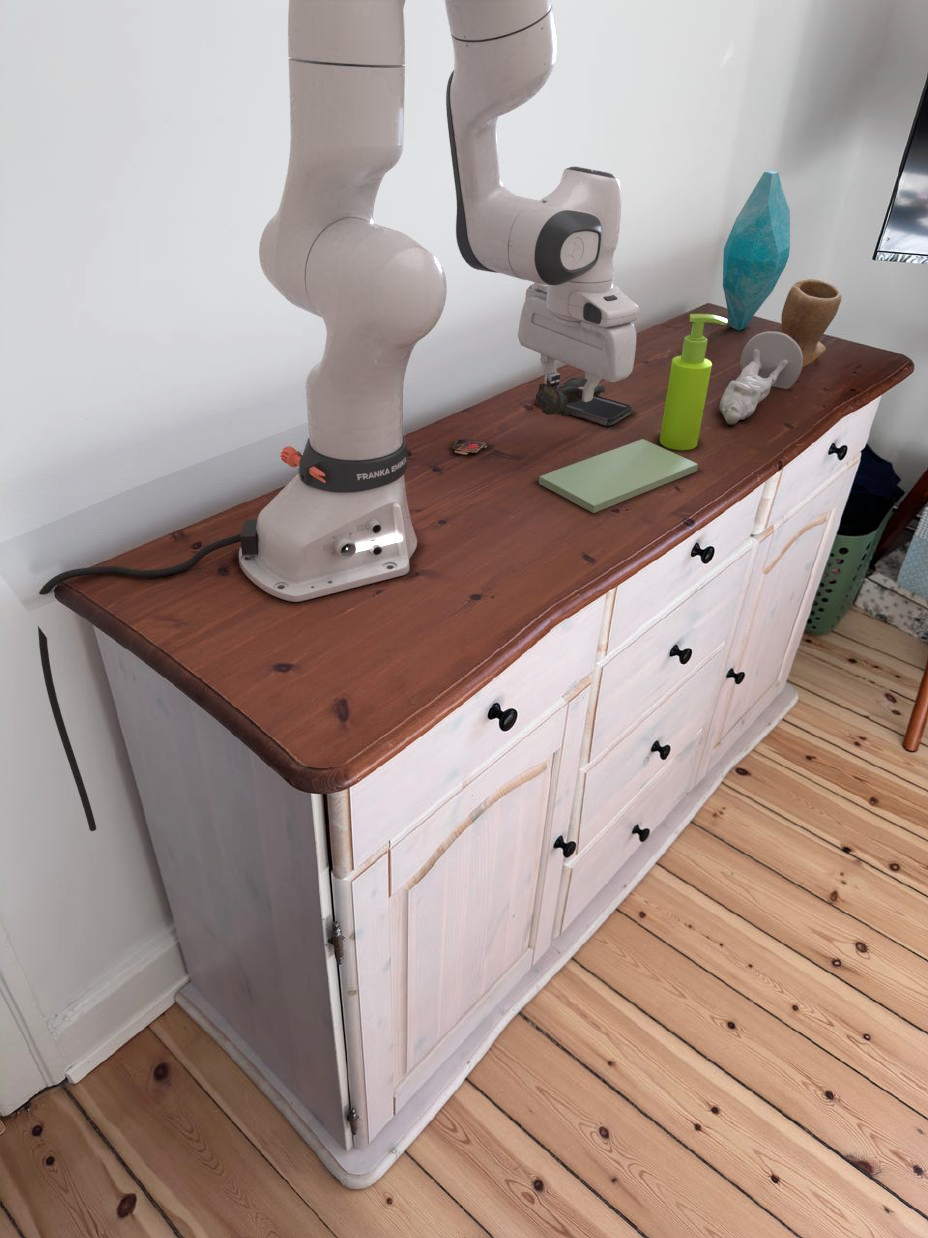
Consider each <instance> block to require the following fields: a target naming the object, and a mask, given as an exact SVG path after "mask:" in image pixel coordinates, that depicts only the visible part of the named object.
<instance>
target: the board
mask: <svg viewBox="0 0 928 1238" xmlns="http://www.w3.org/2000/svg"><path fill="white" fill-rule="evenodd" d="M698 467H699V464H698V463H697V462H694V461H692V460H691V459H688V458H686V457H683V456H681V455H679V454H678V453H675V452H672V451H670V450H668V449H667V448H664V447H662V446H659V445H657V444H656V443H652V442H650V441H649V440H647V439H644V438H641V439H639V440H636V441H633V442H630V443H627V444H625V445H621V446H619V447H616V448H614V449H611V450H608V451H605V452H602V453H600V454H597V455H594V456H591V457H588V458H585V459H584V460H580V461H578V462H575V463H573V464H569V465H567V466H564V467H561V468H559V469H556V470H553V471H550V472H547V473H544V474H542V475H539V476H538V478H539V479H538V484H539V485H540V486H543V487H544V488H546V489H548V490H550V491H552V492H554V493H555V494H557V495H559V496H561V497H563V498H564V499H566V500H568V501H570V502H572V503H574V504H576V505H578V507H581V508H583V509H585V510H586V511H589V512H590V513H592V514H595V513H598V512H600V511H603V510H605V509H607V508H611V507H612V506H615V505H617V504H620V503H622V502H625V501H627V500H630V499H632V498H635V497H637V496H639V495H642V494H645V493H646V492H649V491H652V490H654V489H656V488H659V487H662V486H664V485H667V484H669V483H671V482H674V481H677V480H678V479H679V480H680V479H681V478H684V477H686V476H688V475H691V474H694V473H696V472H698Z"/></svg>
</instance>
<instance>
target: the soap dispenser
mask: <svg viewBox="0 0 928 1238" xmlns="http://www.w3.org/2000/svg"><path fill="white" fill-rule="evenodd" d="M689 323H692V324H691V325H692V326H691V330H690V333H689V334H688V335H686V336H684V339H683V344H682V345H683V346H682V350H681V355H677V356H674V357H673V358H672V359H671V366H670V372H669V378H668V384H667V390H666V396H665V403H664V409H663V416H662V421H661V427H660V428H661V429H660V434H659V443H660V444H661V445H662V446H663V447H665V448H666V449H670V450H674V451H690V450H694V449H696V447H697V446H698V442H699V438H700V437H699V436H700V431H701V425H702V420H703V415H704V409H705V405H706V399H707V395H708V394H707V393H708V388H709V382H710V378H711V372H712V366H713V363H712V361H711V360H710V359H708V358H705V357H706V351H707V346H708V338H707V337H705V335H703V334H704V330H705V323H713V324H717V325H721V326H726V325H728V319H727V318H726V317H723V316H720V315H716V314H709V313H690V314H689Z"/></svg>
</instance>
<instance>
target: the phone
mask: <svg viewBox="0 0 928 1238" xmlns="http://www.w3.org/2000/svg"><path fill="white" fill-rule="evenodd" d="M562 387H563V385H558V386H554V387H553V388H555V389H560V388H562ZM536 400H537V399H536V398H535V401H536ZM566 406H567V407H568V409H569V411H570V413H569V415H570V416H573V417H577V418H579V419H582V420H587V421H589V422H593V423H595V424H599V425H603V426H607V427H609V426H610V427H611V426H613V425H616V424H617V423H619V422H621V421H622V420H624V419H625V418H628V417H629V416H631V414H632V409H633V408H632V406H631V405H630V404H627V403H623V402H620V401H617V400H614V399H609V398H606V397H603V396H600V395H599V396H593V399H592V400H591V401H588V402H584V401H582V400H580V401H577V402H572V403H568V404H566Z"/></svg>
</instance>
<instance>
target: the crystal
mask: <svg viewBox="0 0 928 1238" xmlns="http://www.w3.org/2000/svg"><path fill="white" fill-rule="evenodd" d="M790 251H791V209H790V206H789V204H788V202H787V199H786V195H785V193H784V190H783V187H782V182H781V179H780V175H779V172H778V171H774V170H773V171H772V170H765V171H763V173H762V175H761V177H760V178H759V180H758V181H757V183H756V185H755V187H754V188H753V189H752V191H751V193H750V195H749V197H748V198H747V200H746V202H745V203H744V205H743V207H742V209H741V210H740V212H739V213H738V215H737V216H736V218H735V219H734V223H733V225H732V228H731V229H730V231H729V234H728V237H727V240H726V242H725V244H724V248H723V256H722V257H723V262H722V289H723V292H724V293H723V294H724V299H725V304H726V310H727V315H728V321H729V327H730V328H732V329H734V330H737V331H742V330H743V329H745V328H746V327H747V325H749V323H750V321H751V320H752V318H753V317H754V316H755V315H756V313H757V311H759V309H760V308H761V306H762V305H763V304H764V303H765V302H766V300H767V299H768V298H769V297H770V295H771V294H772V293H773V291H774V289H775V287H776V285H777V283H778V281H779V279H780V278H781V276H782V275H783V272H784V270H785V268H786V266H787V263H788V261H789V258H790Z"/></svg>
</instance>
